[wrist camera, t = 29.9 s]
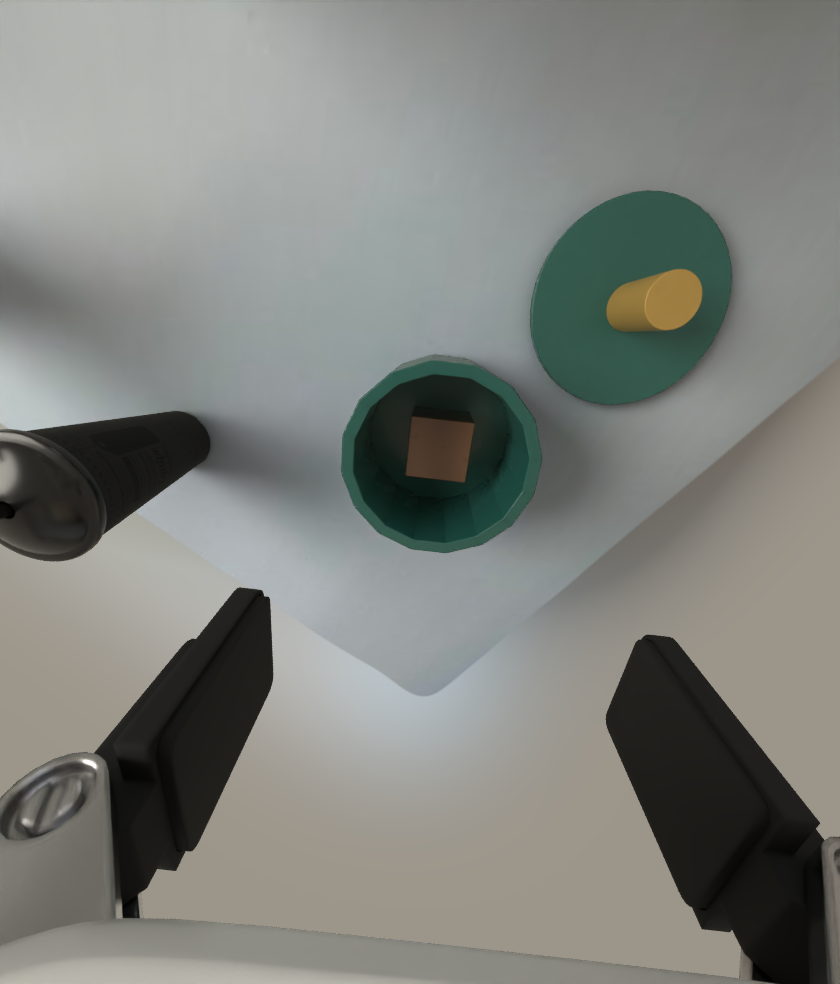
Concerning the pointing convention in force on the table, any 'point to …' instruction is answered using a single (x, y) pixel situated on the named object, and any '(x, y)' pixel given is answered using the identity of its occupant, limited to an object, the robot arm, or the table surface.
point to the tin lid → (630, 297)
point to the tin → (430, 502)
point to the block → (439, 444)
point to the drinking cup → (89, 478)
